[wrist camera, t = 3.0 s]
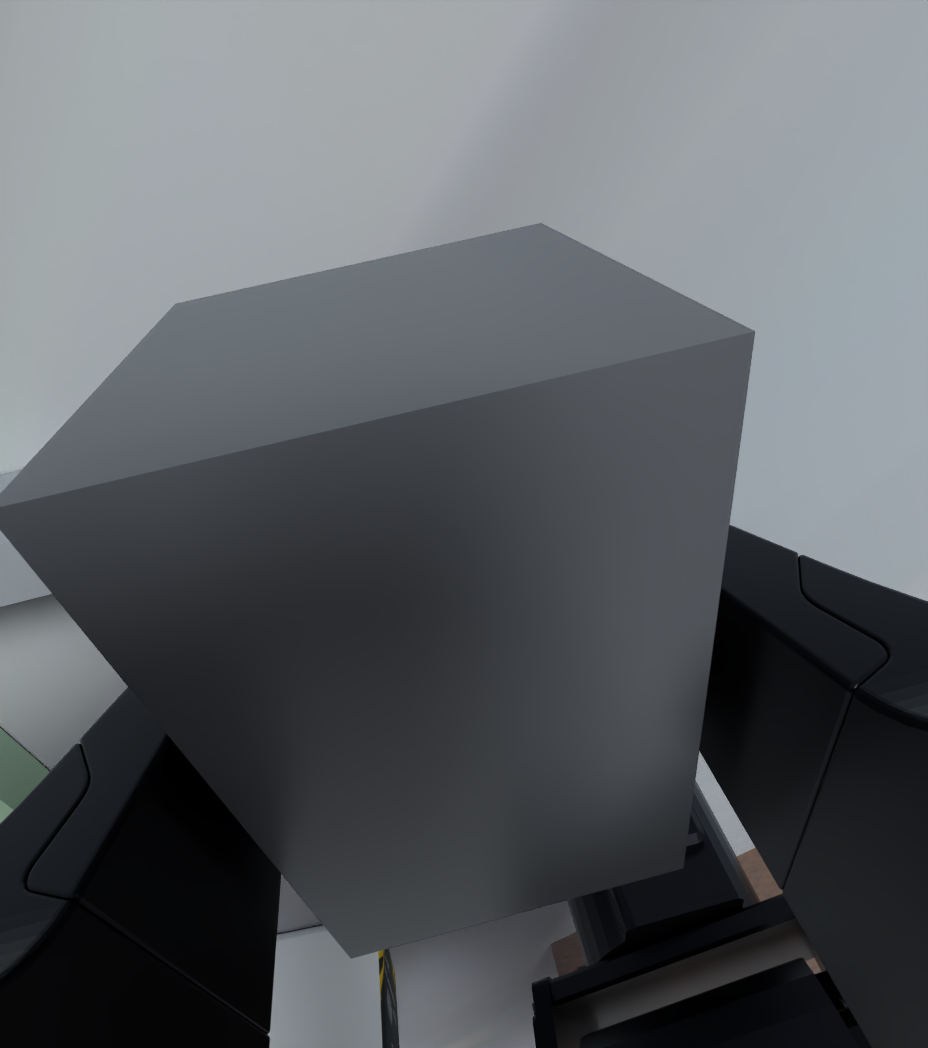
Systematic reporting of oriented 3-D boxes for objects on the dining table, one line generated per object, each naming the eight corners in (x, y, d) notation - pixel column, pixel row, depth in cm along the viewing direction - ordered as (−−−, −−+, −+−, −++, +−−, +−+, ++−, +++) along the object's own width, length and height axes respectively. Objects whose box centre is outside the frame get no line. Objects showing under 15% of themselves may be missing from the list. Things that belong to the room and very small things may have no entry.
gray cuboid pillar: (573, 627, 12) (683, 868, 8) (348, 683, 12) (350, 959, 8) (541, 223, 8) (755, 330, 4) (174, 303, 8) (-16, 509, 4)
